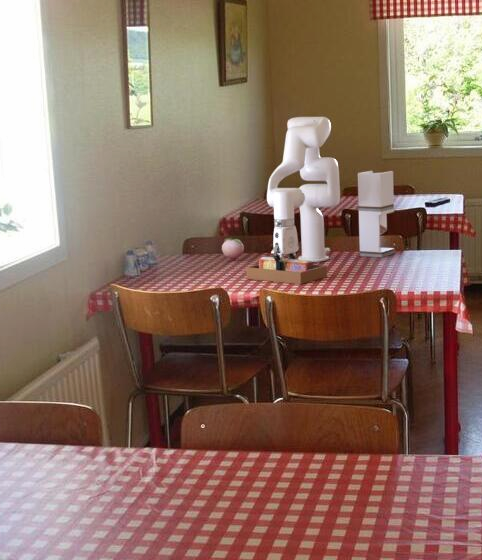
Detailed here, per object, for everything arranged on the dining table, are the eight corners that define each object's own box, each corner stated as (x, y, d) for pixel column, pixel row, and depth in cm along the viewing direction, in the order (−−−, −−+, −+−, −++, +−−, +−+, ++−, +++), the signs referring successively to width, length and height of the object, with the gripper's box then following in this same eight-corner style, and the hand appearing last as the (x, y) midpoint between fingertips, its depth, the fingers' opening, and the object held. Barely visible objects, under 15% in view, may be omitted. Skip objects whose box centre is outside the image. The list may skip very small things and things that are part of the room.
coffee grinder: (381, 257, 416) (380, 173, 409) (359, 255, 421) (357, 173, 414) (394, 253, 425) (393, 171, 419) (372, 251, 431) (371, 170, 424)
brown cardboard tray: (273, 271, 390) (272, 260, 389) (326, 276, 376) (326, 265, 375) (246, 278, 376) (245, 267, 375) (300, 284, 362) (300, 272, 361)
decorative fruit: (218, 261, 417) (217, 237, 415) (227, 258, 424) (226, 235, 422) (238, 262, 413) (236, 238, 411) (247, 259, 420) (246, 235, 419)
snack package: (315, 275, 374) (314, 258, 373) (306, 278, 368) (306, 260, 367) (266, 272, 383) (265, 255, 382) (257, 275, 377) (256, 258, 376)
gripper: (278, 226, 363) (280, 274, 366) (306, 221, 377) (307, 267, 380) (262, 225, 367) (264, 273, 370) (290, 220, 381) (292, 265, 384)
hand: (286, 269), depth 375 cm, fingers closed on snack package, 7 cm apart
